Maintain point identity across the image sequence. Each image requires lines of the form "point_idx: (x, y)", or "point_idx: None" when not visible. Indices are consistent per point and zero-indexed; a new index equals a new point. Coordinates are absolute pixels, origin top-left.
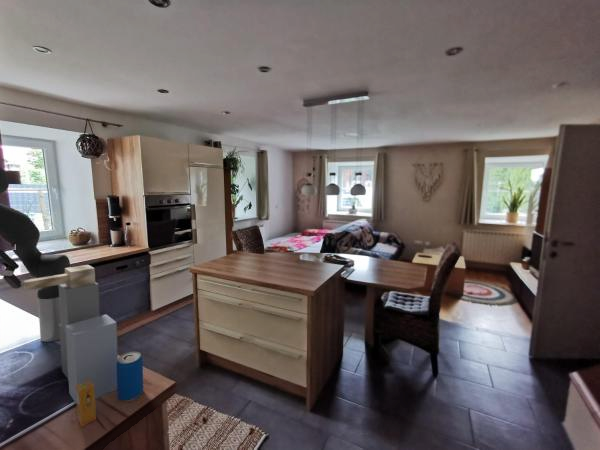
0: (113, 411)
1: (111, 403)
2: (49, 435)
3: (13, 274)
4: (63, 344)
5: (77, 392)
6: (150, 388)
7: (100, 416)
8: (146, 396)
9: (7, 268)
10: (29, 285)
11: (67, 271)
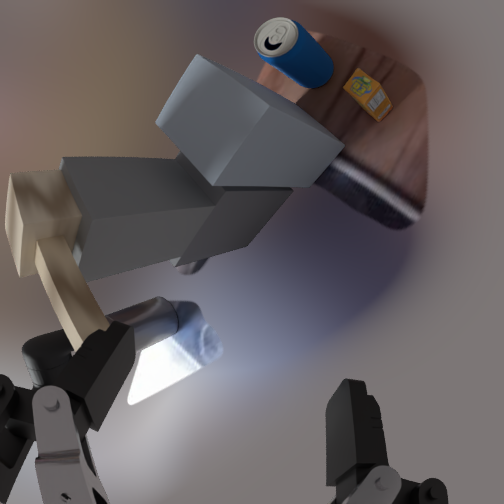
0: None
1: (336, 90)
2: (410, 152)
3: (55, 385)
4: (216, 240)
5: (376, 94)
6: None
7: None
8: None
9: (29, 431)
10: None
11: (26, 254)
